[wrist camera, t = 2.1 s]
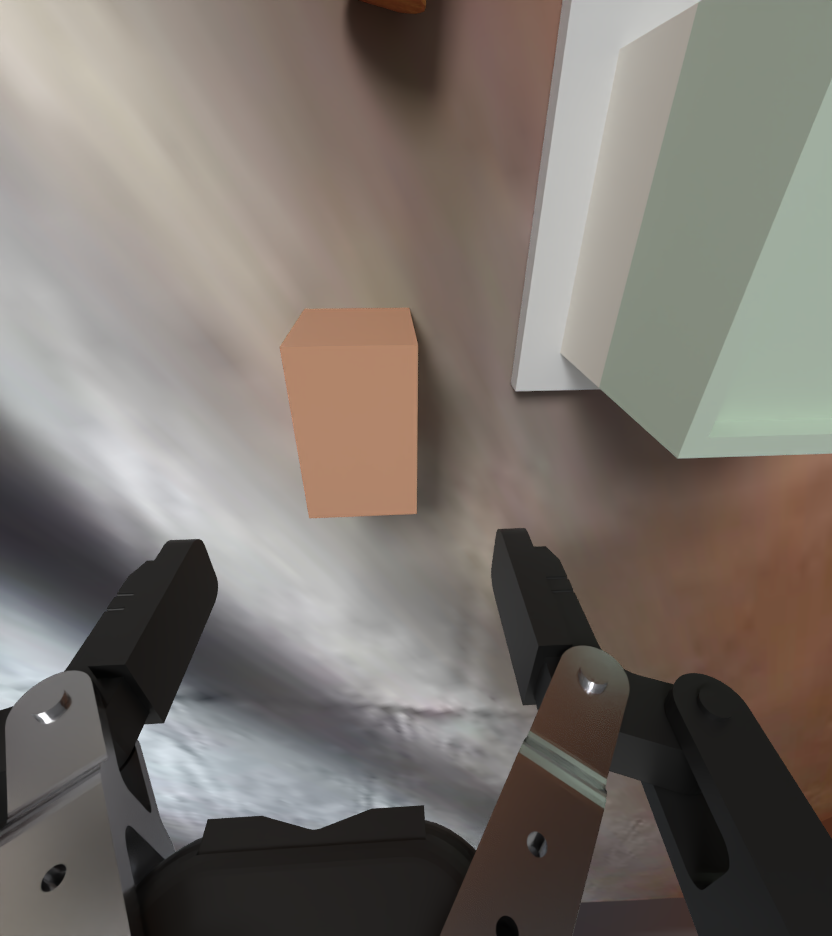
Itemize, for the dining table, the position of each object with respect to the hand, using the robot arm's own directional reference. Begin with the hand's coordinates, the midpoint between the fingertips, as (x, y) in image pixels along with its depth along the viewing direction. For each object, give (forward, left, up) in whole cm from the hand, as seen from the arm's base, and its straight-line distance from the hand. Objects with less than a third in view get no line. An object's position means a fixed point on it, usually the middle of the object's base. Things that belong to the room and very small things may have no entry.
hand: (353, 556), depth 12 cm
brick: (0, 0, -13) cm, 13 cm away
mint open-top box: (+14, +7, -13) cm, 20 cm away
